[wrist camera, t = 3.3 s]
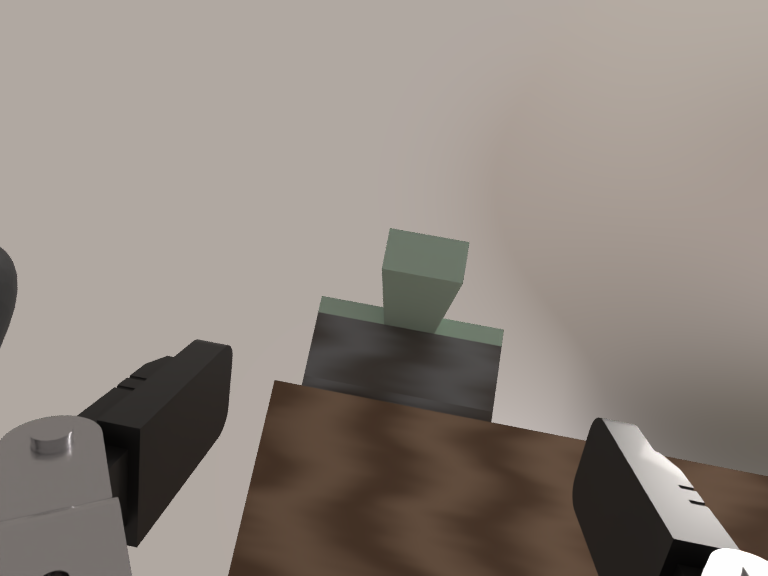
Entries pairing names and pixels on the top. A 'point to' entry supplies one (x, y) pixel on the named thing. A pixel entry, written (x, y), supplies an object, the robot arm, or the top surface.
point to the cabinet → (427, 470)
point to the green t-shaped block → (418, 288)
